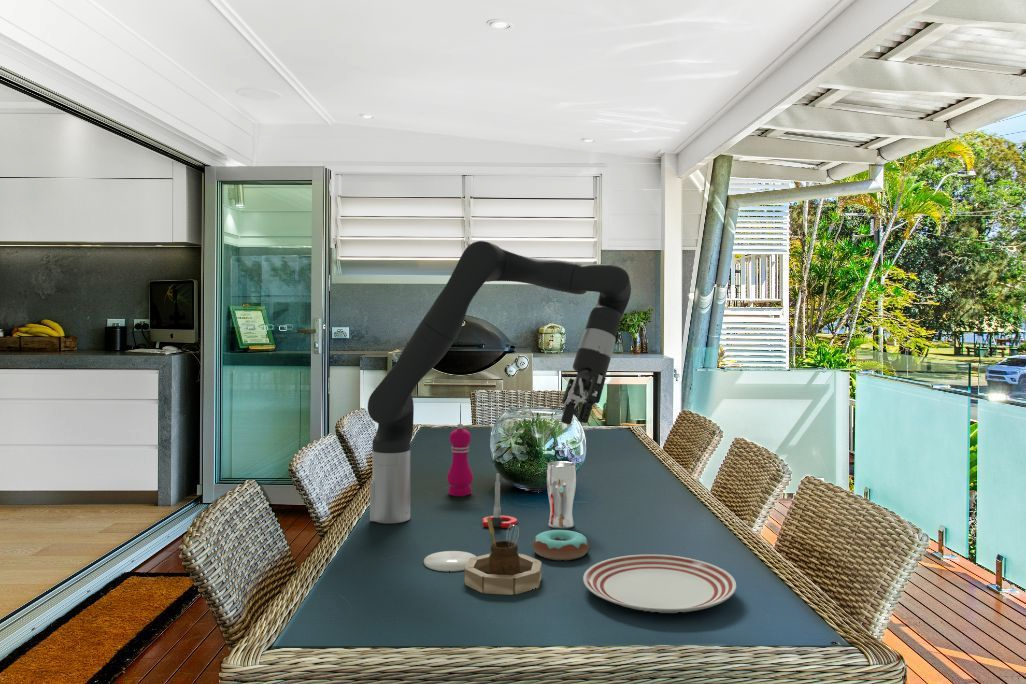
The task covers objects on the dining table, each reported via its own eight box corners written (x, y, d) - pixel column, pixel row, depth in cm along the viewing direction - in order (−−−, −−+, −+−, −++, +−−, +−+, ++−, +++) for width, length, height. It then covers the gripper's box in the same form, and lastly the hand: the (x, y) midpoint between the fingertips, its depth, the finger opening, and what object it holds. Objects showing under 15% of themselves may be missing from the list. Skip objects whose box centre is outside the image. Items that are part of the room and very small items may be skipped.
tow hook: (486, 519, 190) (478, 527, 180) (487, 467, 190) (479, 473, 181) (519, 521, 188) (513, 529, 179) (520, 469, 188) (514, 475, 179)
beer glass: (579, 523, 184) (580, 462, 184) (569, 531, 178) (569, 467, 177) (553, 520, 187) (553, 460, 187) (542, 527, 181) (542, 465, 180)
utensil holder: (514, 587, 141) (514, 524, 141) (482, 583, 143) (482, 521, 143) (523, 577, 147) (524, 516, 146) (493, 573, 149) (493, 513, 148)
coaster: (418, 570, 150) (418, 567, 150) (430, 552, 161) (430, 550, 161) (473, 572, 149) (473, 569, 149) (481, 554, 160) (481, 552, 160)
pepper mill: (476, 492, 216) (476, 422, 215) (466, 497, 209) (467, 425, 209) (453, 490, 218) (453, 421, 218) (443, 495, 212) (443, 424, 211)
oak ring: (460, 592, 139) (460, 576, 139) (473, 566, 153) (473, 551, 153) (537, 595, 137) (537, 579, 137) (543, 569, 151) (543, 554, 151)
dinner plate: (635, 636, 121) (635, 616, 121) (557, 580, 146) (557, 563, 146) (769, 610, 132) (770, 591, 131) (675, 562, 157) (676, 546, 157)
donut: (553, 566, 153) (554, 547, 153) (521, 551, 164) (522, 532, 163) (600, 557, 160) (600, 538, 160) (566, 542, 170) (566, 524, 170)
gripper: (566, 351, 172) (545, 418, 168) (594, 342, 159) (572, 415, 155) (594, 362, 174) (574, 429, 170) (624, 355, 161) (603, 427, 157)
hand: (573, 422), depth 163 cm, fingers open, 8 cm apart
